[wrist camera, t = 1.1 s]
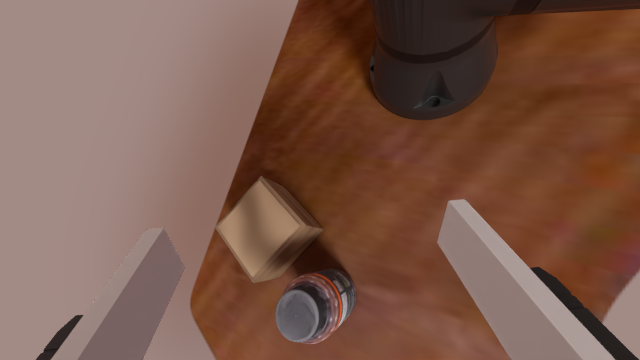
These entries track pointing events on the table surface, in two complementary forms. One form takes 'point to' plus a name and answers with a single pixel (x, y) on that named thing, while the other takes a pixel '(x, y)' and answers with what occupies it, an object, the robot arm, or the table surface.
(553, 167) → the table surface
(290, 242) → the light wooden box
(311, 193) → the table surface
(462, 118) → the table surface
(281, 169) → the table surface
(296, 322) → the supplement bottle
